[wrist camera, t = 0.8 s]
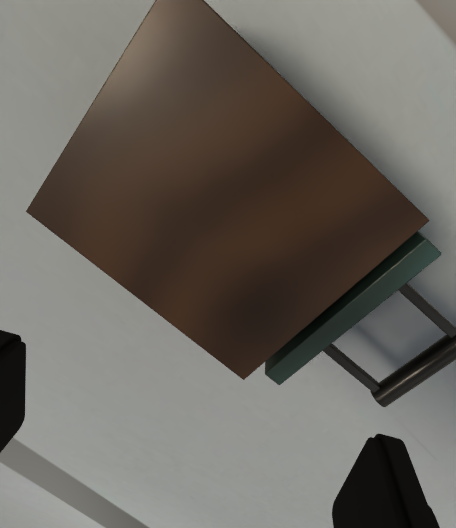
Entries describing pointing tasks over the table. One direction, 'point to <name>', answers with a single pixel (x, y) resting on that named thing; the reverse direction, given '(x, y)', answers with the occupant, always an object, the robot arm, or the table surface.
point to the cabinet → (219, 190)
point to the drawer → (358, 306)
